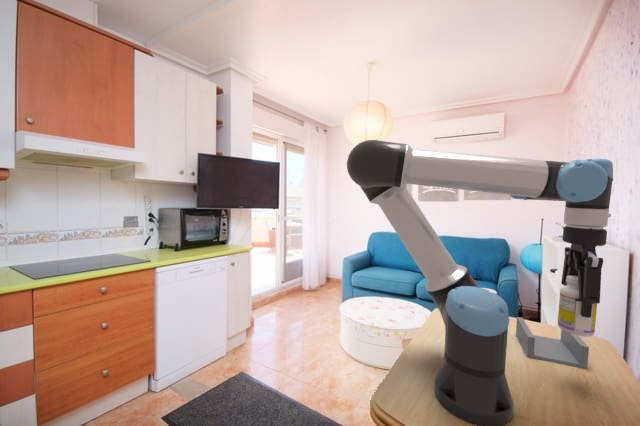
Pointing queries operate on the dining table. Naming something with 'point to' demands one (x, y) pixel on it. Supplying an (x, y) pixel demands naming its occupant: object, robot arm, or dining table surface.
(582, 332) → the supplement bottle
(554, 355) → the u cradle
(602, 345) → the dining table surface
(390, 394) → the dining table surface
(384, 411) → the dining table surface
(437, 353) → the dining table surface
